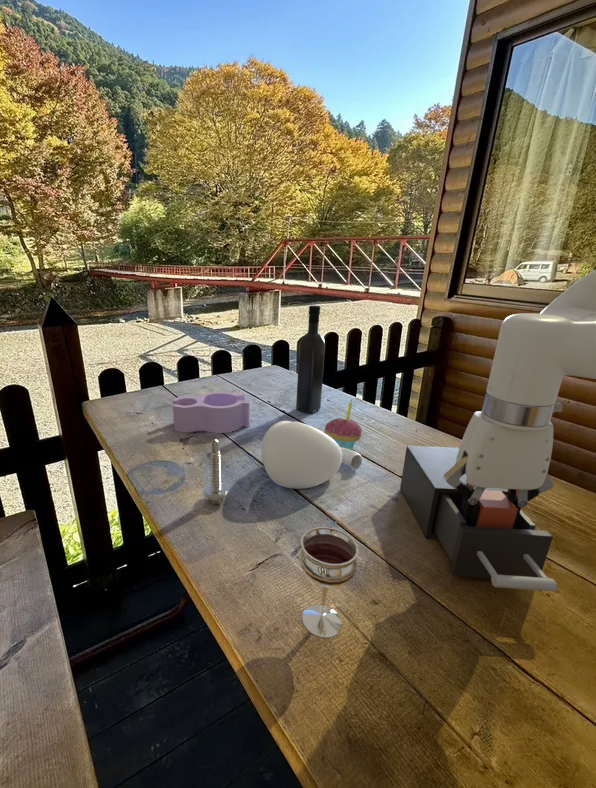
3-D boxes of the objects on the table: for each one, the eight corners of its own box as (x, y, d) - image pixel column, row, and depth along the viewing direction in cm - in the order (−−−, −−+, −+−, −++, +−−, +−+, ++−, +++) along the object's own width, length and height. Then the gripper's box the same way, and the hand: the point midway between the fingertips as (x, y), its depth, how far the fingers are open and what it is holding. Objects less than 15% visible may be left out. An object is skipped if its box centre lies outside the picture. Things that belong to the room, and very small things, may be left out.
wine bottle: (294, 409, 121) (299, 306, 110) (306, 404, 124) (312, 304, 114) (310, 414, 117) (317, 308, 106) (321, 409, 120) (329, 306, 110)
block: (494, 516, 62) (501, 490, 61) (510, 535, 58) (518, 509, 57) (463, 514, 63) (469, 489, 61) (477, 533, 59) (483, 507, 57)
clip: (175, 436, 104) (173, 411, 102) (173, 417, 115) (171, 394, 113) (251, 430, 107) (252, 406, 104) (242, 412, 118) (242, 390, 116)
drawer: (566, 617, 52) (584, 569, 49) (471, 610, 53) (484, 562, 50) (490, 521, 70) (501, 481, 67) (421, 517, 71) (428, 478, 68)
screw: (231, 506, 76) (205, 509, 75) (226, 491, 81) (201, 494, 80) (230, 443, 72) (203, 446, 71) (225, 432, 76) (199, 434, 75)
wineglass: (324, 592, 57) (331, 520, 53) (360, 629, 51) (371, 552, 47) (284, 611, 54) (288, 537, 50) (318, 653, 48) (326, 574, 44)
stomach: (367, 498, 85) (299, 459, 106) (383, 437, 84) (311, 410, 105) (278, 497, 75) (221, 453, 96) (294, 427, 73) (233, 399, 94)
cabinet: (506, 543, 66) (521, 492, 63) (425, 538, 67) (435, 488, 64) (466, 492, 80) (476, 448, 76) (399, 488, 81) (406, 445, 78)
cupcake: (337, 436, 103) (342, 392, 99) (367, 448, 97) (373, 401, 93) (315, 447, 98) (319, 400, 94) (346, 460, 92) (351, 411, 88)
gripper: (565, 401, 57) (532, 511, 63) (438, 397, 59) (418, 505, 65) (607, 423, 50) (564, 545, 56) (461, 418, 52) (435, 536, 58)
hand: (486, 522), depth 60 cm, fingers closed on block, 4 cm apart
